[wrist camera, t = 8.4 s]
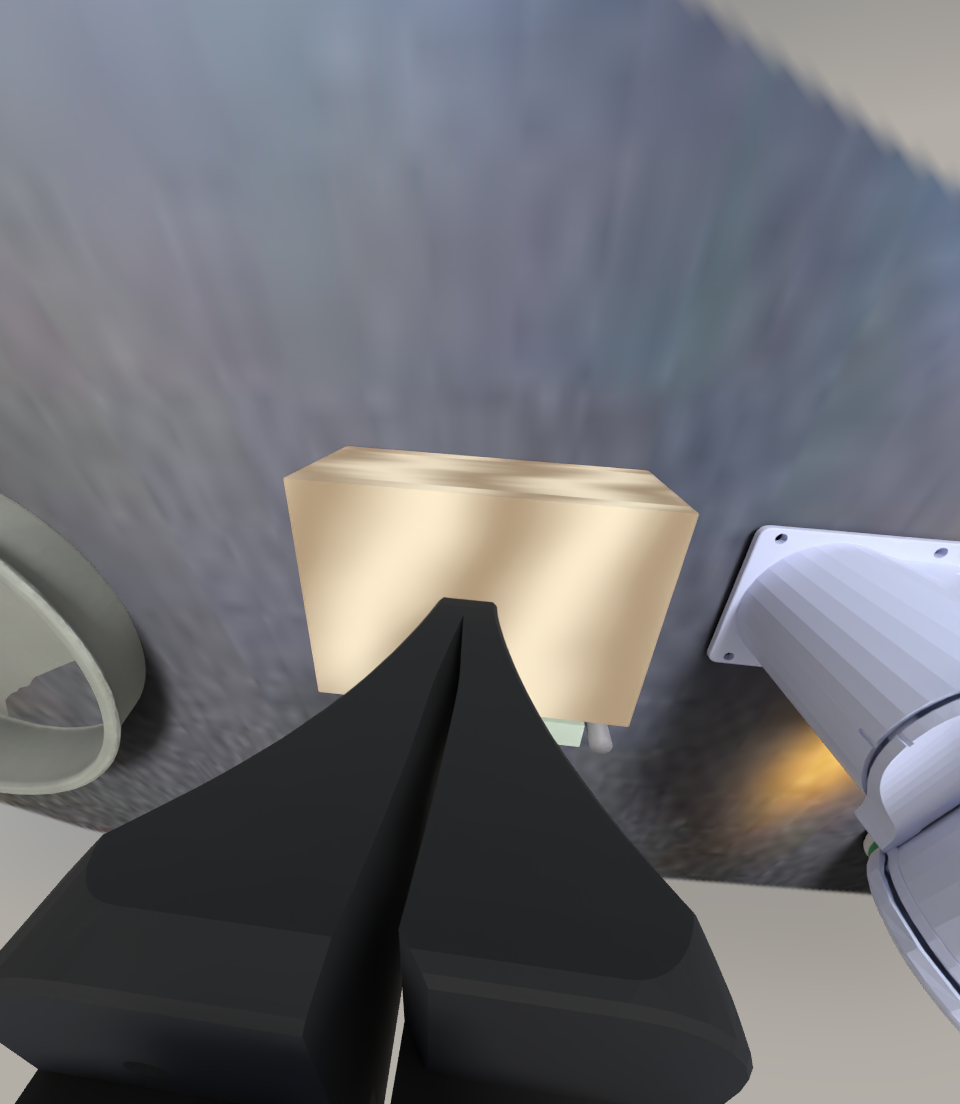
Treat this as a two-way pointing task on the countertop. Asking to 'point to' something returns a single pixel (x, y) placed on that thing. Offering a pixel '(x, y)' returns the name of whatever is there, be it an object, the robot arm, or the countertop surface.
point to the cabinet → (491, 566)
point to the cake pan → (59, 654)
